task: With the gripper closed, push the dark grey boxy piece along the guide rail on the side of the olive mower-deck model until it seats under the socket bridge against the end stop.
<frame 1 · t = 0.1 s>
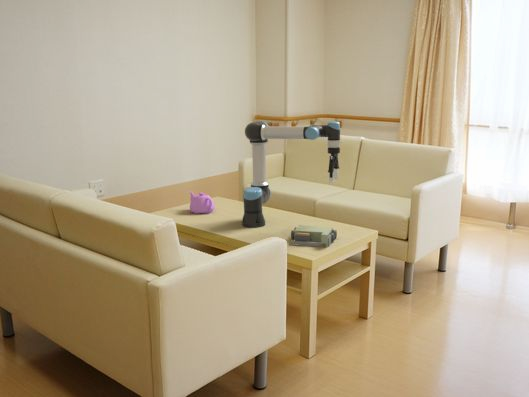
hand: (333, 180, 349), 28 cm above the table, fingers open, 13 cm apart
dark grey boxy piece: (302, 238, 314), point 3 cm above the table, slide at 0.0 cm
teapot: (201, 211, 398), on the table
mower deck: (312, 240, 318), on the table
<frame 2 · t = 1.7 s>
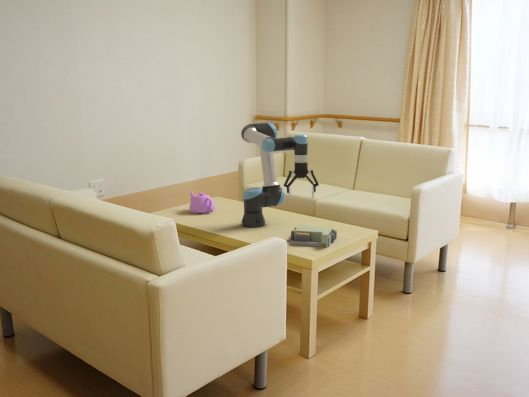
hand: (301, 198, 324), 23 cm above the table, fingers open, 13 cm apart
nothing on the table moved.
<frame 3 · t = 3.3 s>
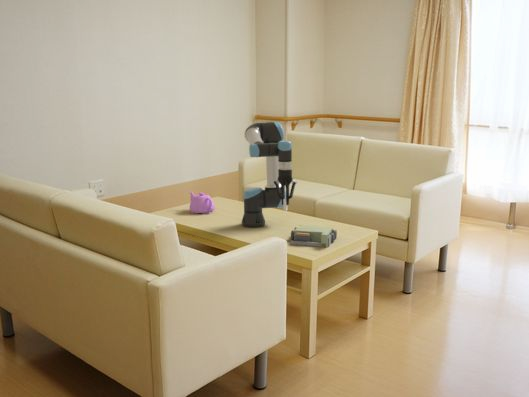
hand: (285, 210, 314), 18 cm above the table, fingers closed
nothing on the table moved.
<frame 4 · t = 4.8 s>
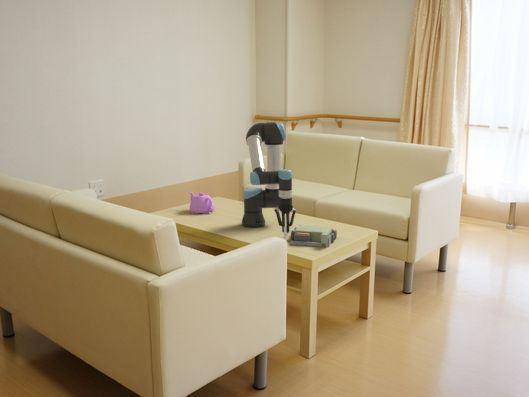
hand: (285, 237, 317), 2 cm above the table, fingers closed
nothing on the table moved.
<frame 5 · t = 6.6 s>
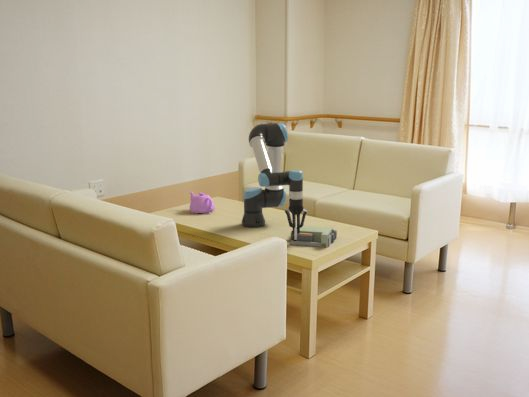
hand: (296, 239, 315), 2 cm above the table, fingers closed
dark grey boxy piece: (305, 238, 313), point 3 cm above the table, slide at 1.5 cm, touching gripper
everything else where it was.
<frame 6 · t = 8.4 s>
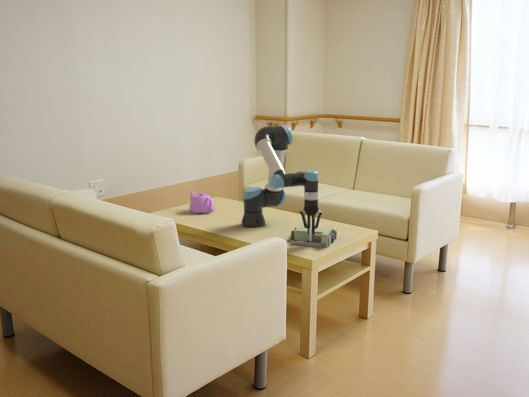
hand: (311, 240, 312), 2 cm above the table, fingers closed
dark grey boxy piece: (320, 239, 311), point 3 cm above the table, slide at 10.0 cm, touching gripper, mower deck
everything else where it was.
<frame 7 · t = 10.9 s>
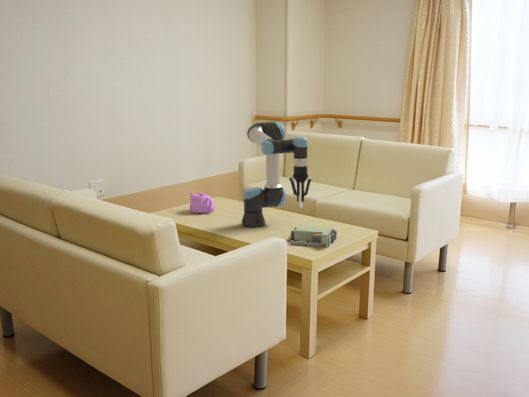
hand: (300, 207, 311), 20 cm above the table, fingers closed
dark grey boxy piece: (320, 239, 311), point 3 cm above the table, slide at 10.0 cm
everything else where it was.
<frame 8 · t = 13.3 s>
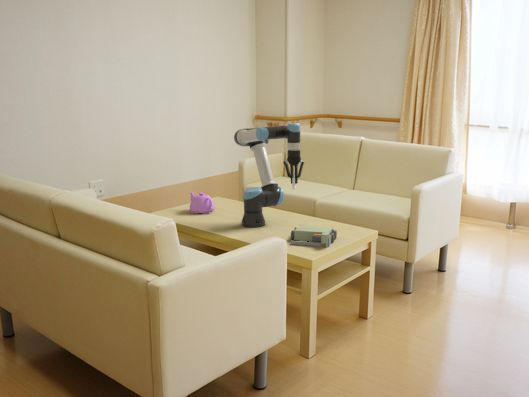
hand: (294, 188, 333), 26 cm above the table, fingers closed
nothing on the table moved.
at the end: dark grey boxy piece slide at 10.0 cm; the gripper is holding nothing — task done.
